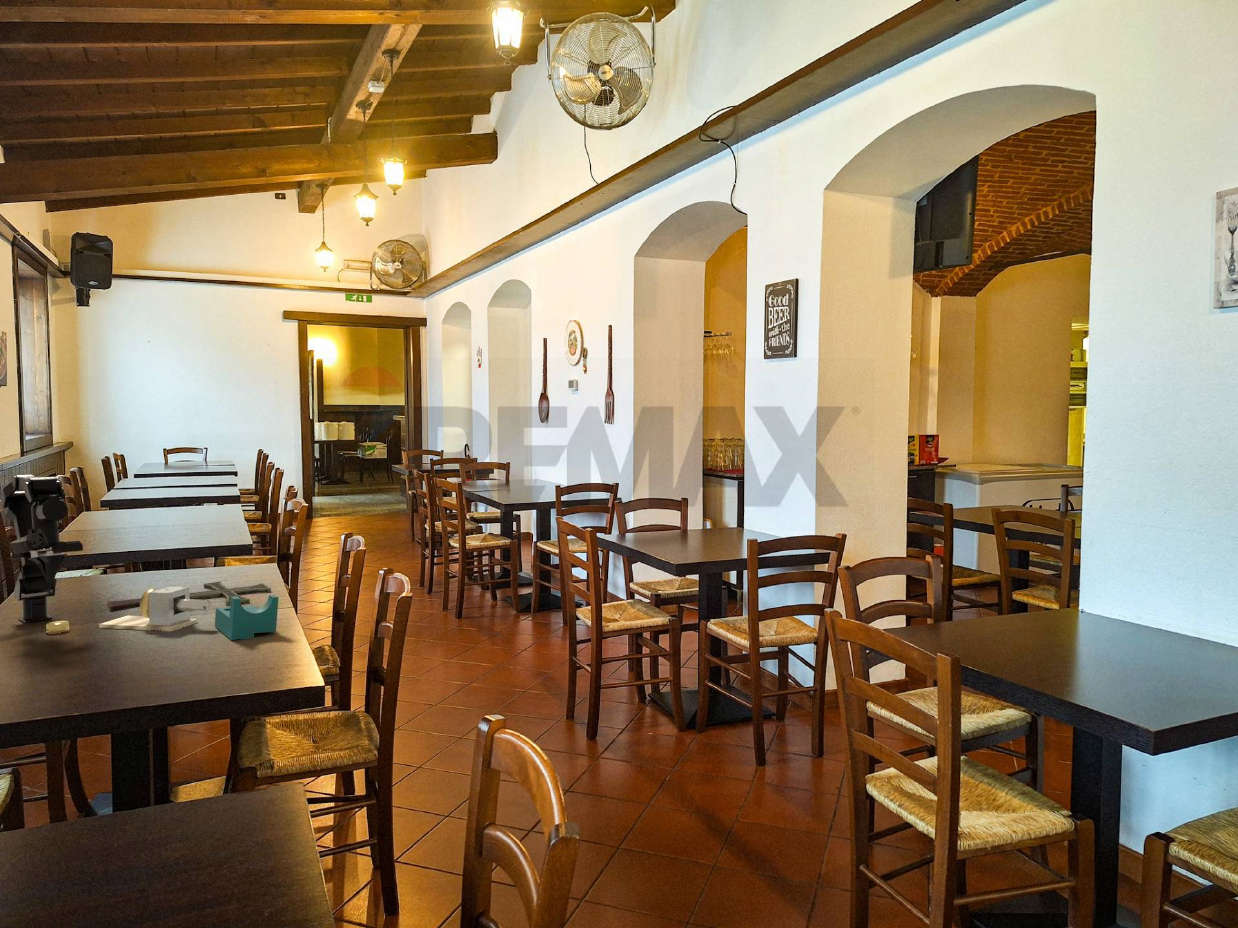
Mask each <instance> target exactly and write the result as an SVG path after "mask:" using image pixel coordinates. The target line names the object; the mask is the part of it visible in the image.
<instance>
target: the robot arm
mask: <svg viewBox="0 0 1238 928" xmlns="http://www.w3.org/2000/svg"><path fill="white" fill-rule="evenodd" d="M19 490H20V491H19ZM66 495H67V494H66V491H65V490H64V487H63V485H62V483H61V481H60V480H58V479H57V477H56V476H43V477H41V476H39V477H37V476H36V475H33V474H17V475H15V476H12V479H11V481H10V482H9V483H8V484H6V485H5V486H4V487H3V488H2V490H1V495H0V507H1V509H3V512H4V516H5V517H6V518H7V519H9V520H10V521H11V522H12V523H13V525H14V529H15V535H16V540H14V541H11V542H10V545H11V548H12V551H11V557H12V558H11V559H12V560H13V559H21V560H20V561H21V565H22V567H21V569H20V571H19V574H18V576H17V579H16V581H15V585H14V586H15V587H14V590H13V595H14V600H17V601H19V602H22V616H20V617H17V618H18V620H19V621H21V622H23V623H31V622H38V621H44V620H45V621H46V620H50V619H53V616H52V615H49V613H48V597H55V595H56V587H57V582H58V580H57V579H56V577H57V573H58V571H59V569H60V567H61V565H62V563H63V562H64V560H65V558H66V557H68V554H67V553H71V552H73V553H74V552H83V551H84V543H83V542H81V540H72V541H64V540H62V541H61V540H60V539H61V538H60V531H63V525H59V521H61V520H63V519H64V518H66V516H67V515H68V512H69V508H68V505H67V504H66V502H65V499H66Z"/></svg>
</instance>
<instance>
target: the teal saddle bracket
mask: <svg viewBox="0 0 1238 928" xmlns="http://www.w3.org/2000/svg"><path fill="white" fill-rule="evenodd" d="M279 598H280V597H279V596H277V595H276V594H269V595H268V598H267V601H266V602H265V604H264V605H263V606H262V607H261V606H259V605H245V606H244V605H243V604H241V601H240V598H239V597H237V596H233V597H231V601H230V605H229V606H221V607H219V606H218V607H215V617H214V627H215V628H216V629H217V630H219V631H220V632H221V633H222V634H223V635H224V636H226V637H227V638H229V640H230V641H236V640H237V639H240V640H247V639H246V638H250V639H254V638H255V634H257V633H258V634H259V633H260V634H261V633H275V632H277V625H278V624H277V622H278V612H279V611H278V609H279V608H278V607H279ZM242 605H243V606H242ZM237 641H238V640H237Z"/></svg>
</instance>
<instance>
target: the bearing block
mask: <svg viewBox="0 0 1238 928" xmlns="http://www.w3.org/2000/svg"><path fill="white" fill-rule="evenodd" d="M158 589H159V590H155V591H152V592H149V621H150V626H166V627H170V626H173V625H176V624H179V623H182V622H185V621H187V620H190V619H191V611H174V605H173V598H174V599H189V593H190V587H189V586H166V587H164V588H163V587H162V588H158Z"/></svg>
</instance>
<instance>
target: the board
mask: <svg viewBox="0 0 1238 928" xmlns="http://www.w3.org/2000/svg"><path fill="white" fill-rule="evenodd" d="M197 623H198V618H190V620H187V621H185V622H182V623H179V624H176V625H173V626H170V627H166V626H150V621H149V618H145V617H144V616H143V615H125V616H122V617H119V618H114V619H111V620H108V621H105V622H102V623H99V624H98V626H99V627H98V628H100V629H115V630H116V629H117V630H135V631H136V630H137V631H151V630H156V631H157V630H159V631H157V632H171V631H172V632H175V631H178V630H180V629H182V628H183V627H184V628H186V627H190V626H191V625H195V624H197ZM184 628H183V629H184ZM160 630H161V631H160ZM174 630H175V631H174Z"/></svg>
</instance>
